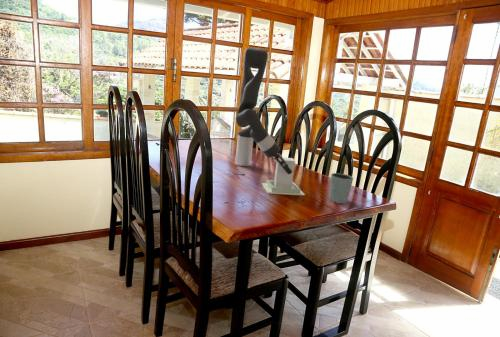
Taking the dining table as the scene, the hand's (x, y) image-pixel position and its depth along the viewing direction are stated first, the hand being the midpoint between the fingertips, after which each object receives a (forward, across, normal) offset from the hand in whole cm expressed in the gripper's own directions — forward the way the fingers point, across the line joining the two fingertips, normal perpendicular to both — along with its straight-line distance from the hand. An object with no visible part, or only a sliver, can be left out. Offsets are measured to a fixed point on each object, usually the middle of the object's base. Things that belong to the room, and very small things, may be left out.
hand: (287, 170), depth 169 cm
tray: (+6, 0, +8) cm, 10 cm away
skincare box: (+5, 0, +8) cm, 9 cm away
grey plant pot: (+23, -11, -9) cm, 27 cm away
